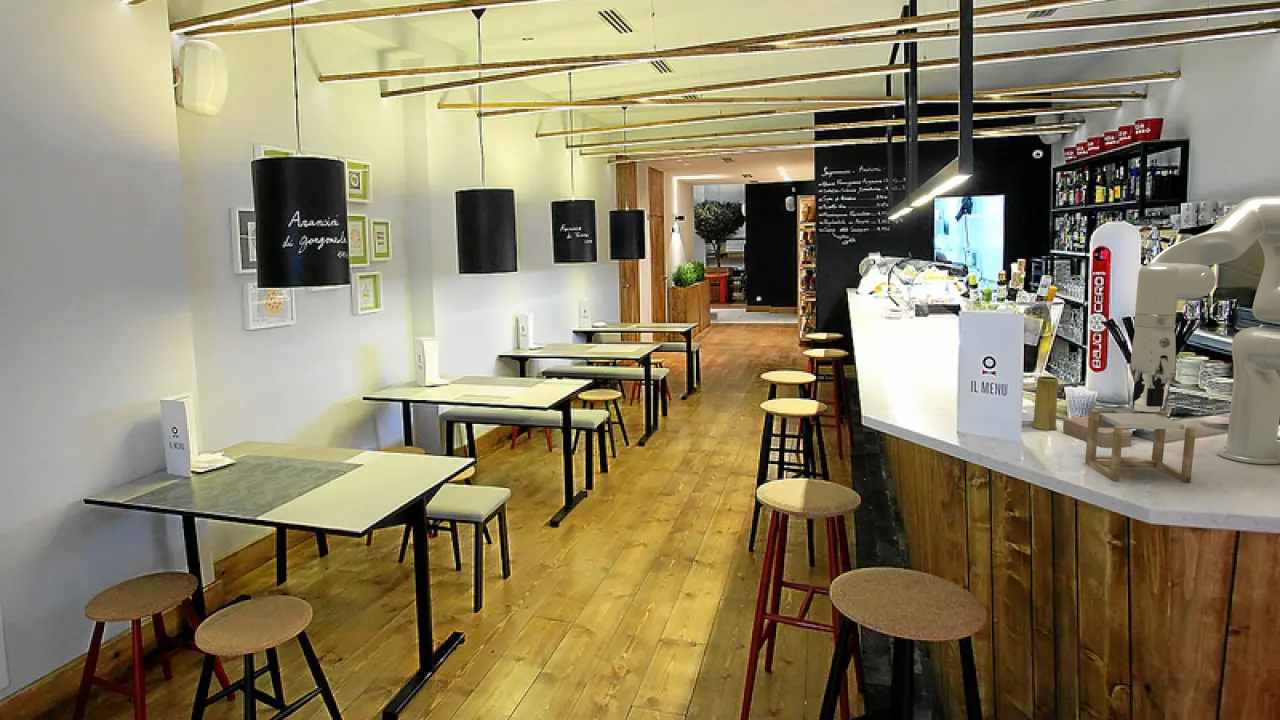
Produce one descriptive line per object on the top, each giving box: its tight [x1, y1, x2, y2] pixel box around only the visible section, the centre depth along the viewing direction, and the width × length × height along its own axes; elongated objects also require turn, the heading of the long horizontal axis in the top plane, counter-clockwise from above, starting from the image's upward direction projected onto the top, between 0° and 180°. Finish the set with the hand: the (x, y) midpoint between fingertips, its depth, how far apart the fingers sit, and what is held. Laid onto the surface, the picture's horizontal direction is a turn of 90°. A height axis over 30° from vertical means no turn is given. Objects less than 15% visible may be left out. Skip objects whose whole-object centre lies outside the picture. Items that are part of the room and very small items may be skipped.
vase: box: [1031, 375, 1059, 431], centre depth 224 cm, size 6×6×14 cm
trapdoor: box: [1087, 407, 1185, 430], centre depth 185 cm, size 19×13×4 cm
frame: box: [1084, 409, 1197, 484], centre depth 181 cm, size 16×14×13 cm
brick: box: [1062, 416, 1133, 449], centre depth 212 cm, size 17×8×5 cm, turn 8°
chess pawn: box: [1133, 372, 1161, 413], centre depth 177 cm, size 5×5×9 cm
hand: (1147, 402), depth 178 cm, fingers closed on chess pawn, 5 cm apart
